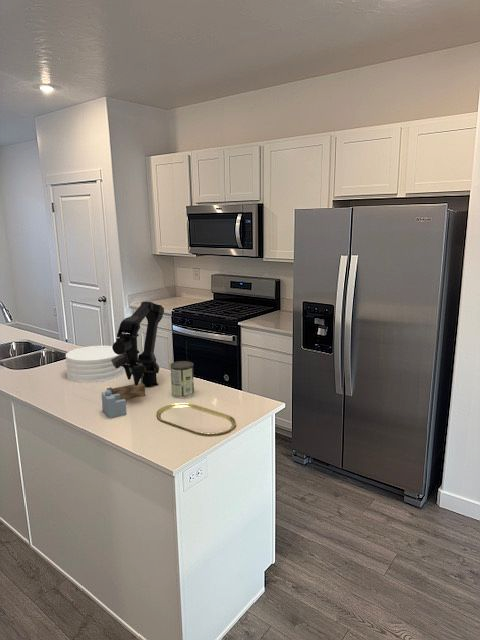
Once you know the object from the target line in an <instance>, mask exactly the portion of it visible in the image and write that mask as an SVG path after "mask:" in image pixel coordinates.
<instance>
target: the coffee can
mask: <svg viewBox="0 0 480 640" xmlns="http://www.w3.org/2000/svg"><path fill="white" fill-rule="evenodd" d="M169 367H170V381H171V385H170V386H171V396H172V397H174V398H179V399H186V398H190V397H192V396H194V394H195V384H194V383H195V382H194V363H193V362H191V361H188V360H179V361H174V362H172V363H170V365H169Z"/></svg>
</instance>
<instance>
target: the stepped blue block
mask: <svg viewBox="0 0 480 640" xmlns="http://www.w3.org/2000/svg"><path fill="white" fill-rule="evenodd" d="M100 393H101V403H102V404H101V406H102V412H103V413H104V414H105V415H106V416H107V418H108V419H113V418H117V417H118V418H119V417H121V416H126V415H127V400H125V399H122V400H120V394H114V395H112V392H111V391H110V390H107V389H106V390H105V391H102V392H100Z"/></svg>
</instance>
